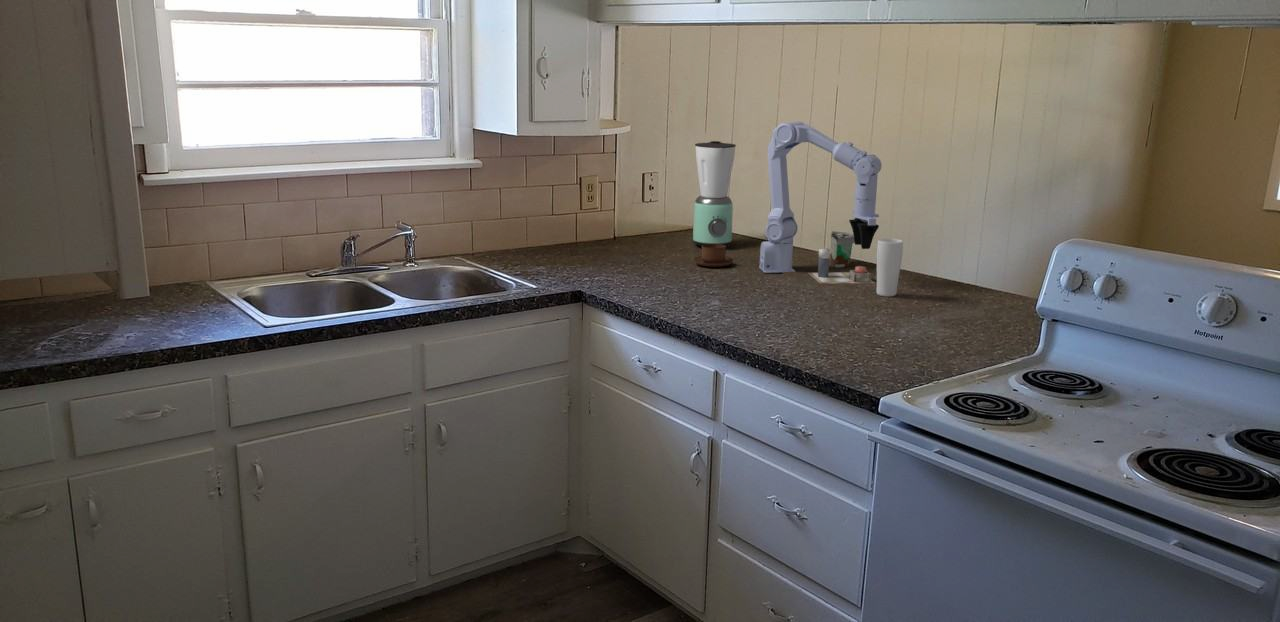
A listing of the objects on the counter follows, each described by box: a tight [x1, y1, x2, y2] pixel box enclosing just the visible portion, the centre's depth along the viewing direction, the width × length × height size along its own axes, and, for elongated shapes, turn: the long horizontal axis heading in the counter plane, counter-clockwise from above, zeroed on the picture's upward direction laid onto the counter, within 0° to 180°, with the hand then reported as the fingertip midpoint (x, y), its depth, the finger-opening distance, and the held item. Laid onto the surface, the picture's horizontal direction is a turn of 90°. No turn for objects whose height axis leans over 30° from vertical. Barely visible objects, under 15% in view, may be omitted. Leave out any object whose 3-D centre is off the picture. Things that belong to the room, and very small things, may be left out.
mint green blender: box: [692, 140, 737, 249], centre depth 329 cm, size 19×13×35 cm
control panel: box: [807, 269, 876, 285], centre depth 285 cm, size 16×14×3 cm
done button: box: [854, 265, 867, 273], centre depth 281 cm, size 3×3×2 cm
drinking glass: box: [875, 238, 904, 298], centre depth 265 cm, size 7×7×15 cm
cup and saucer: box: [693, 244, 734, 268], centre depth 302 cm, size 12×12×6 cm
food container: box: [829, 230, 855, 269], centre depth 302 cm, size 12×6×10 cm, turn 179°
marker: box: [817, 247, 831, 277], centre depth 284 cm, size 3×3×8 cm
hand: (862, 246), depth 279 cm, fingers open, 6 cm apart
